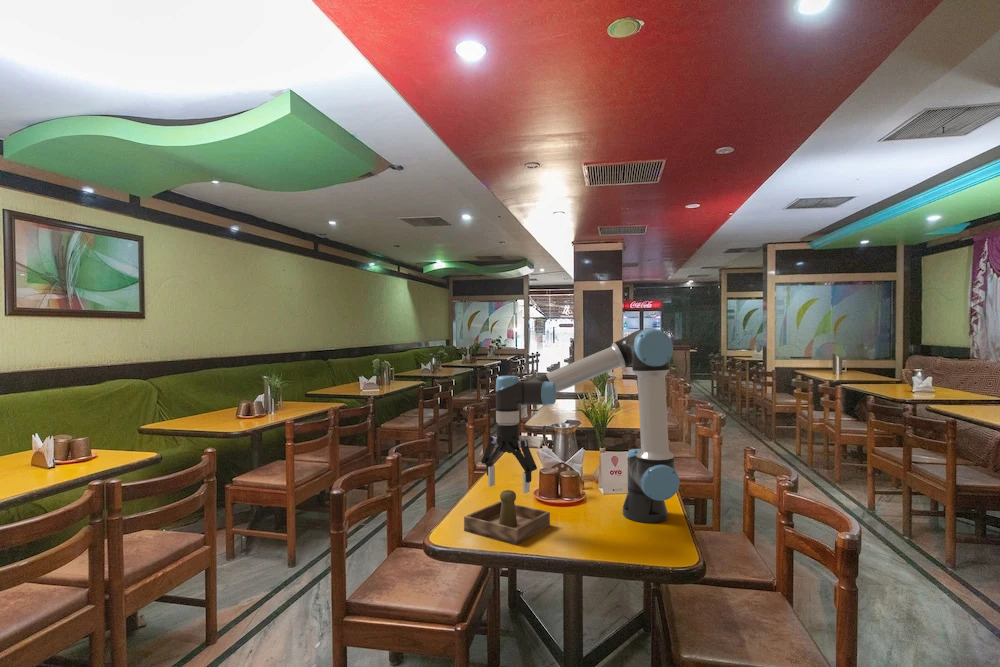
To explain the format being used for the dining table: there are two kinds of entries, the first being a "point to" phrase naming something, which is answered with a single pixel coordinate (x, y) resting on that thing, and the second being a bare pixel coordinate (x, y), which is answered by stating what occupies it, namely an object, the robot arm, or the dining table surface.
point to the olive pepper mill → (508, 509)
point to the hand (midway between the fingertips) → (508, 489)
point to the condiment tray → (488, 526)
